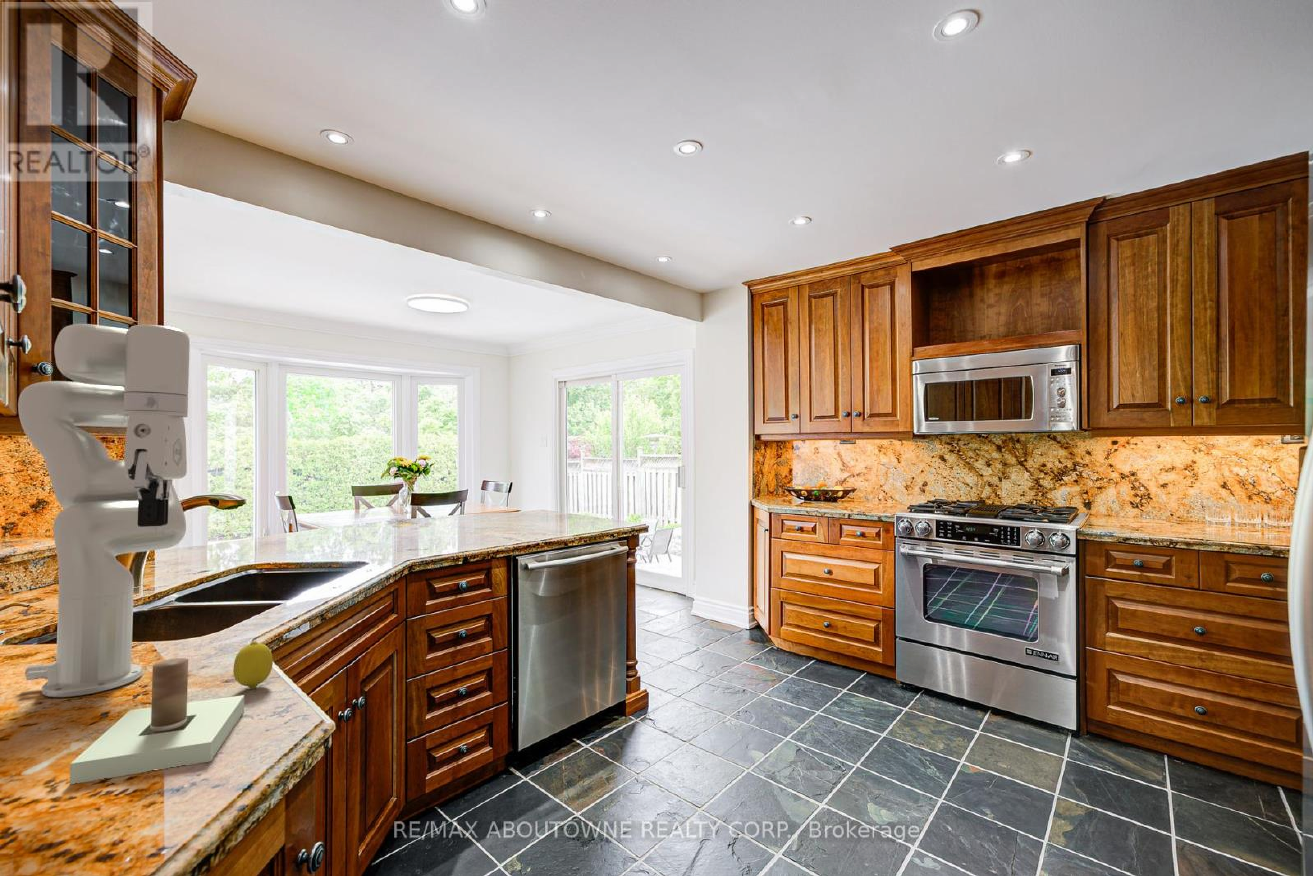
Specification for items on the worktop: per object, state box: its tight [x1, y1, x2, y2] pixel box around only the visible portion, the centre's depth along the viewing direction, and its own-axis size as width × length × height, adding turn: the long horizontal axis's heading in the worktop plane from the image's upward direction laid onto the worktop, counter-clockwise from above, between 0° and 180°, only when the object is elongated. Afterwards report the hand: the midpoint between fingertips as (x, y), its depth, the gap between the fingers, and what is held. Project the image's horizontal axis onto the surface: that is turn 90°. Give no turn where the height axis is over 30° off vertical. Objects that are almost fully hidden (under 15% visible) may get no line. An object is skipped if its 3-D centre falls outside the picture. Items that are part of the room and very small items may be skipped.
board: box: [69, 694, 245, 785], centre depth 80 cm, size 14×16×2 cm
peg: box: [150, 657, 189, 734], centre depth 80 cm, size 4×4×11 cm
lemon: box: [233, 640, 274, 690], centre depth 99 cm, size 6×6×8 cm
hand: (152, 525), depth 89 cm, fingers closed
